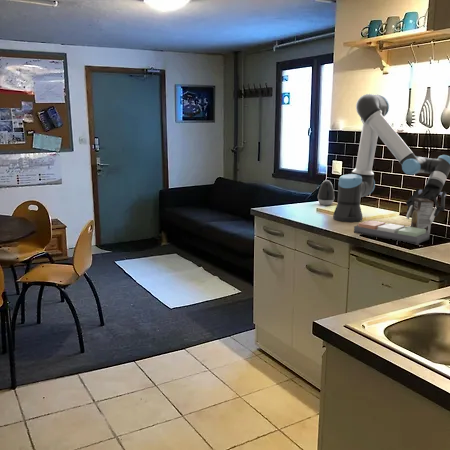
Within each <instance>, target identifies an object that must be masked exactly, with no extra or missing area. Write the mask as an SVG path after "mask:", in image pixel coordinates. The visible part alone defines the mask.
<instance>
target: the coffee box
mask: <svg viewBox="0 0 450 450" xmlns="http://www.w3.org/2000/svg"><path fill="white" fill-rule="evenodd" d="M434 204H435V201H434V200H432V199H427V198H414V199H413V210H412V214H411V221H410V222H411V223H410V227H415V228H421V229H426V232H429V233H430V234H431V229H432V226H431V225H432V223H431V222H430V217H431V214H432V212H433V210H434Z"/></svg>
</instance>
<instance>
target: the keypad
mask: <svg viewBox="0 0 450 450" xmlns="http://www.w3.org/2000/svg"><path fill="white" fill-rule="evenodd" d="M353 229H354V230H353V233H354V234H360V235H365V236H370V237H375V238H381V239H385V240H390V239H392V241H396V240H398V241H397V242H401V241H403V243H406V242H407V243H408V244H413V245H419V244H421V243H424V242H427V241H428V240H430V236H431V232H430V233H429V232H426V233H425V234H422V235H420V236H417V237H414V236H408V235H403V234H398V232H396V233H392V232H386V231H380V230H377V229H369V228H363V227H358V224H357V225H355V226H354V227H353Z"/></svg>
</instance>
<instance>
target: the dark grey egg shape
mask: <svg viewBox="0 0 450 450" xmlns="http://www.w3.org/2000/svg"><path fill="white" fill-rule="evenodd" d="M317 200H318V203H319V204H320V205H322V206H331V205H332V204H333V202H334V201H335V191H334V187H333V184H332V182H331V180H328V179H326V180H323V182H322V183H321V185H320V187H319V189H318V194H317Z"/></svg>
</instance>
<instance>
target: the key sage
mask: <svg viewBox="0 0 450 450" xmlns="http://www.w3.org/2000/svg"><path fill="white" fill-rule="evenodd" d="M425 233H426V229H421V228H415V227H411V226H405V228H403V229H400V230H398V234H403V235H408V236H414V237H417V236H420V235H422V234H425Z"/></svg>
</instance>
